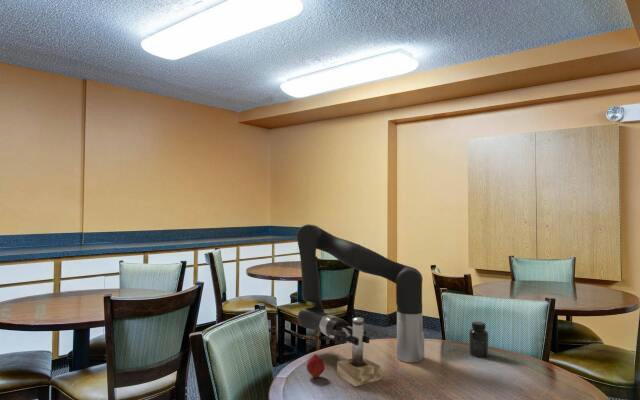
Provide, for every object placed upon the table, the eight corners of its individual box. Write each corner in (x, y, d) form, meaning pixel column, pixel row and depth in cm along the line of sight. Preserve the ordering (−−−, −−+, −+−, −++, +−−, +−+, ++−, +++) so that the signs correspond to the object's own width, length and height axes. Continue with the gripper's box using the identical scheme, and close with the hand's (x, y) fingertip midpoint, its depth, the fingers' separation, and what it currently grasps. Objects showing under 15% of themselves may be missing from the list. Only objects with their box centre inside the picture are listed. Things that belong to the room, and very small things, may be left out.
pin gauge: (358, 361, 138) (359, 316, 139) (365, 365, 135) (366, 319, 135) (349, 363, 136) (350, 318, 137) (356, 367, 133) (356, 320, 133)
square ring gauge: (361, 369, 142) (361, 356, 142) (380, 379, 134) (380, 365, 134) (337, 375, 137) (337, 361, 137) (354, 386, 128) (354, 371, 129)
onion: (326, 375, 137) (326, 351, 137) (321, 382, 131) (321, 356, 132) (310, 373, 139) (310, 349, 139) (303, 379, 133) (304, 354, 134)
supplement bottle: (472, 350, 163) (472, 319, 163) (490, 354, 159) (490, 322, 159) (466, 355, 157) (466, 323, 158) (485, 359, 153) (485, 326, 154)
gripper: (317, 319, 145) (345, 332, 130) (350, 314, 152) (380, 326, 137) (316, 341, 144) (344, 356, 130) (350, 335, 152) (380, 349, 137)
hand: (363, 341), depth 133 cm, fingers closed on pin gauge, 3 cm apart
